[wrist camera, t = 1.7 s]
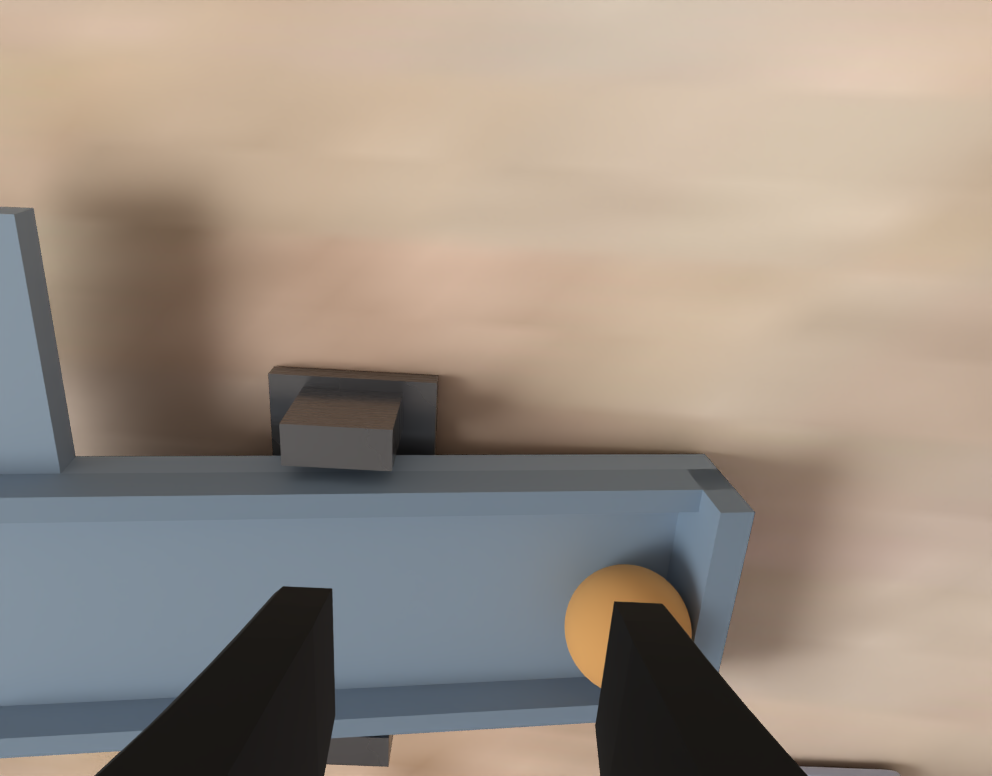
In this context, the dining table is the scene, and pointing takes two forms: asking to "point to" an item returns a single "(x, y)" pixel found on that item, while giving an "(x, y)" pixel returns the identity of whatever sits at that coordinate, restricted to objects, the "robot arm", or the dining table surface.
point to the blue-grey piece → (315, 563)
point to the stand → (352, 452)
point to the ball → (595, 608)
